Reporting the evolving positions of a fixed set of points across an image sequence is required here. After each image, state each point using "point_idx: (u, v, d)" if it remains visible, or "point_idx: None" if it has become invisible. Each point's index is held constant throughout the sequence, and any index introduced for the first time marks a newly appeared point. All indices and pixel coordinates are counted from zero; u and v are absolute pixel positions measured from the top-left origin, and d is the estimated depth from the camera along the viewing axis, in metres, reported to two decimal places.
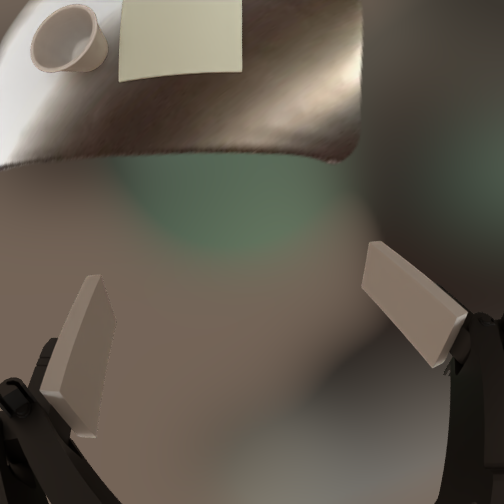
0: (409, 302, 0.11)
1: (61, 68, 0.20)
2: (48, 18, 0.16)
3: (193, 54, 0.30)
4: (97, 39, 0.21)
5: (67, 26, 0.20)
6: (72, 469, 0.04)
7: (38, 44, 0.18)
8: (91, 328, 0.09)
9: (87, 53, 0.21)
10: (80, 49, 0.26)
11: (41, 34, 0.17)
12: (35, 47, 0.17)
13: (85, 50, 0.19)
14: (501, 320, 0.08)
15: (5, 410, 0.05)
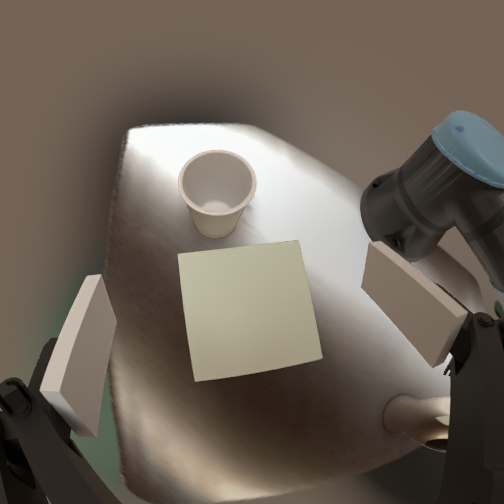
0: (409, 302, 0.11)
1: (179, 185, 0.29)
2: (243, 162, 0.31)
3: (209, 328, 0.34)
4: (212, 220, 0.31)
5: (239, 186, 0.34)
6: (72, 469, 0.04)
7: (217, 157, 0.32)
8: (91, 328, 0.09)
9: (195, 211, 0.30)
10: (220, 209, 0.39)
11: (228, 159, 0.32)
12: (213, 155, 0.31)
13: (194, 207, 0.28)
14: (501, 320, 0.08)
15: (5, 410, 0.05)
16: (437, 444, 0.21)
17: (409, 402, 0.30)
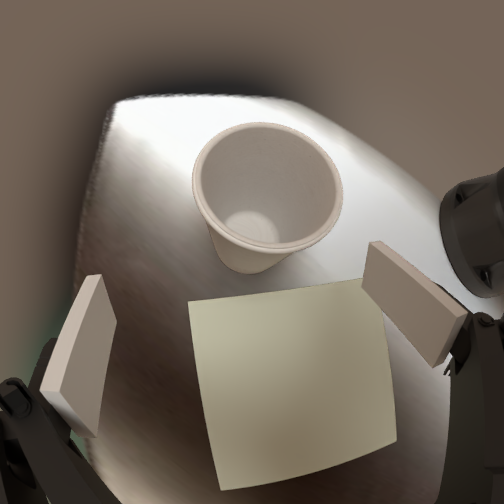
0: (409, 302, 0.11)
1: (195, 187, 0.14)
2: (316, 147, 0.16)
3: (242, 422, 0.19)
4: (259, 257, 0.16)
5: (298, 191, 0.20)
6: (72, 469, 0.04)
7: (265, 136, 0.17)
8: (91, 328, 0.09)
9: (226, 240, 0.15)
10: (257, 224, 0.25)
11: (285, 140, 0.17)
12: (258, 131, 0.16)
13: (228, 235, 0.14)
14: (501, 320, 0.08)
15: (5, 410, 0.05)
16: None
17: None
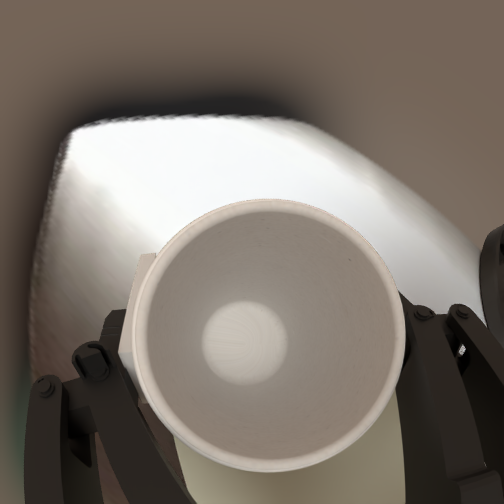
0: None
1: (138, 366, 0.07)
2: (364, 249, 0.09)
3: None
4: None
5: (321, 298, 0.12)
6: (146, 438, 0.05)
7: (270, 224, 0.10)
8: None
9: None
10: (255, 319, 0.17)
11: (305, 230, 0.10)
12: (256, 218, 0.09)
13: (208, 456, 0.06)
14: (447, 317, 0.09)
15: (80, 372, 0.06)
16: None
17: None
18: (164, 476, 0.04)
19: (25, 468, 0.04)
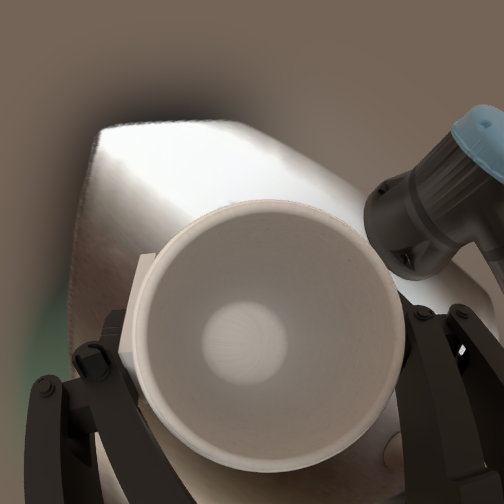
0: None
1: (138, 366, 0.07)
2: (364, 249, 0.09)
3: None
4: None
5: (321, 299, 0.12)
6: (146, 438, 0.05)
7: (269, 225, 0.10)
8: None
9: None
10: (255, 319, 0.17)
11: (305, 230, 0.10)
12: (256, 219, 0.09)
13: (208, 456, 0.06)
14: (447, 317, 0.09)
15: (80, 372, 0.06)
16: None
17: None
18: (164, 476, 0.04)
19: (25, 468, 0.04)
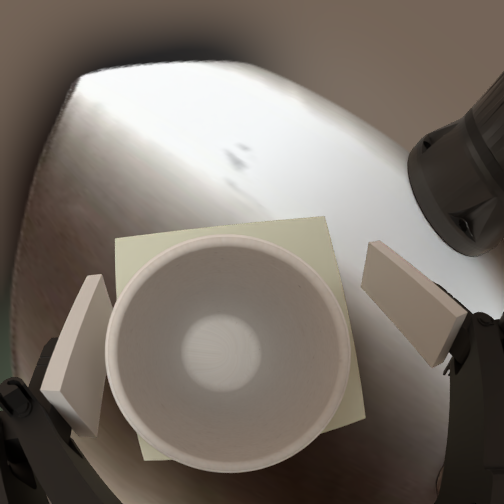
0: (409, 302, 0.11)
1: (111, 380, 0.08)
2: (310, 278, 0.10)
3: None
4: None
5: (282, 316, 0.13)
6: (72, 469, 0.04)
7: (223, 256, 0.11)
8: (92, 328, 0.09)
9: None
10: (230, 331, 0.18)
11: (257, 260, 0.11)
12: (209, 252, 0.10)
13: (169, 456, 0.07)
14: (500, 320, 0.08)
15: (5, 410, 0.05)
16: None
17: None
18: None
19: None
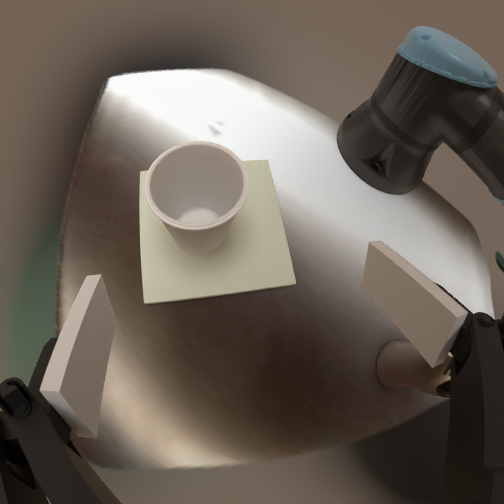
0: (409, 302, 0.11)
1: (146, 190, 0.21)
2: (232, 155, 0.23)
3: (164, 243, 0.30)
4: (192, 235, 0.23)
5: (227, 188, 0.26)
6: (72, 469, 0.04)
7: (197, 151, 0.24)
8: (91, 328, 0.09)
9: (168, 225, 0.22)
10: (205, 217, 0.31)
11: (211, 152, 0.24)
12: (191, 148, 0.23)
13: (165, 220, 0.20)
14: (501, 320, 0.08)
15: (5, 410, 0.05)
16: (449, 384, 0.17)
17: (407, 344, 0.27)
18: None
19: None
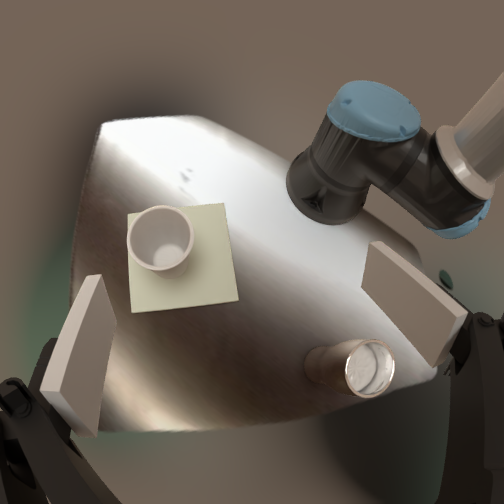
0: (409, 302, 0.11)
1: (128, 243, 0.32)
2: (183, 216, 0.34)
3: (145, 270, 0.41)
4: (158, 271, 0.34)
5: (185, 235, 0.38)
6: (72, 469, 0.04)
7: (162, 212, 0.35)
8: (91, 328, 0.09)
9: None
10: (174, 251, 0.43)
11: (171, 213, 0.35)
12: (157, 210, 0.35)
13: (140, 263, 0.32)
14: (501, 320, 0.08)
15: (5, 410, 0.05)
16: (337, 383, 0.29)
17: (324, 349, 0.38)
18: None
19: None
